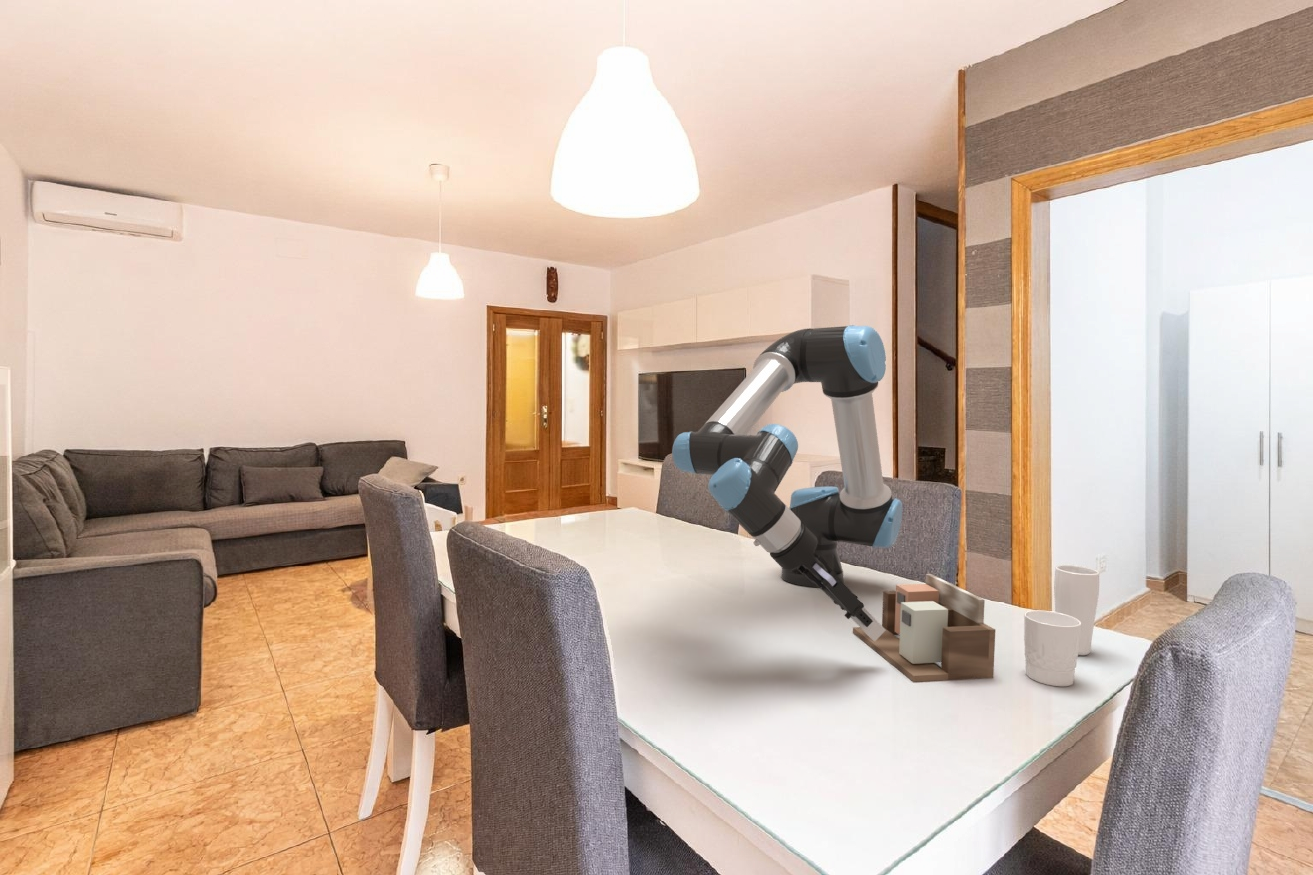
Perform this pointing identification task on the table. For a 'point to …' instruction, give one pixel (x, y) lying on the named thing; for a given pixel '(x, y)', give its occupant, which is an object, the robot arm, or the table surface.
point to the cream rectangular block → (922, 631)
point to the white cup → (1051, 647)
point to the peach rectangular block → (913, 598)
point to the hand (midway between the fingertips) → (878, 634)
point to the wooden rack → (943, 637)
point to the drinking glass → (1078, 599)
